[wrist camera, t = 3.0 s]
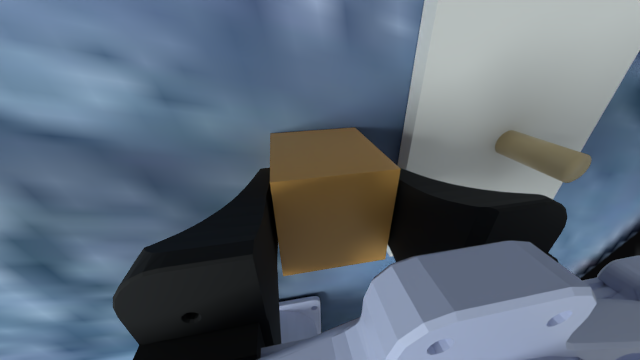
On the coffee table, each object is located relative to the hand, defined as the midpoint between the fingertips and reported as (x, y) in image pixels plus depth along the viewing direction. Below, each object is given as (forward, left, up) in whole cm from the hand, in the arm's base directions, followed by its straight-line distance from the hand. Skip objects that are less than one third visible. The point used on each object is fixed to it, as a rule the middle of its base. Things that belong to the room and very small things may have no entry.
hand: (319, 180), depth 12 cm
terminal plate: (+1, -11, -1) cm, 11 cm away
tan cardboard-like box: (0, 0, -1) cm, 1 cm away
